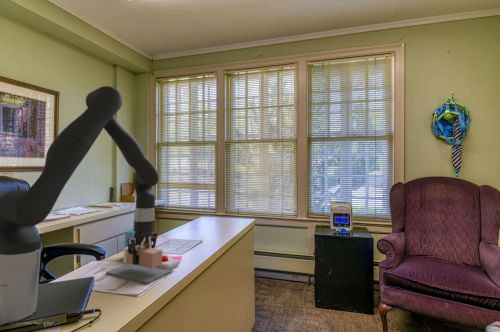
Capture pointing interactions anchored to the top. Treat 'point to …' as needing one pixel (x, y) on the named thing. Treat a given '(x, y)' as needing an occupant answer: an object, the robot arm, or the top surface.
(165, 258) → the red push button
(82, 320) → the top surface
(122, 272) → the mat
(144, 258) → the block
